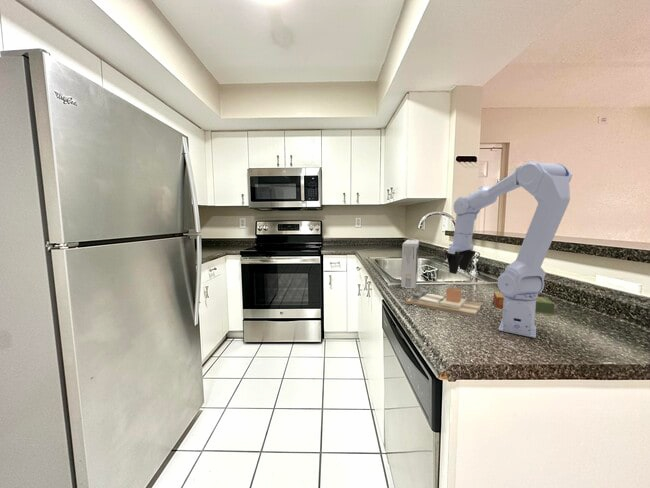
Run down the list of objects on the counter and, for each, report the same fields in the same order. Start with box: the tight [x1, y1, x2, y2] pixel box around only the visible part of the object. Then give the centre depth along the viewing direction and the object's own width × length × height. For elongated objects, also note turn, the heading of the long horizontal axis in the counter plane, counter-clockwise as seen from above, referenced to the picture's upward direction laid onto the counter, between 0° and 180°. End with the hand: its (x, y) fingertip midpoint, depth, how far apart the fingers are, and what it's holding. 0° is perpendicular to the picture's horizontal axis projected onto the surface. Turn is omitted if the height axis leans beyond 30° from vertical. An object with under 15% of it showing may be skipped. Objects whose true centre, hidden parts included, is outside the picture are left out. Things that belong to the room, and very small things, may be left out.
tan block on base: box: [440, 287, 467, 309], centre depth 95 cm, size 10×6×5 cm, turn 142°
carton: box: [492, 291, 556, 316], centre depth 95 cm, size 8×16×4 cm, turn 64°
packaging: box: [400, 239, 420, 289], centre depth 134 cm, size 30×6×20 cm, turn 160°
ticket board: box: [404, 289, 483, 318], centre depth 97 cm, size 14×22×3 cm, turn 52°
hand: (458, 271), depth 97 cm, fingers open, 7 cm apart
